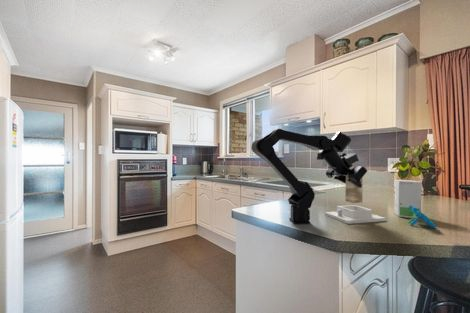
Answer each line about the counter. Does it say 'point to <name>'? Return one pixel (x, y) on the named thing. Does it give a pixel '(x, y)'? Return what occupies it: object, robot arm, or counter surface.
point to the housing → (354, 214)
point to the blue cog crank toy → (419, 217)
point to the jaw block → (353, 192)
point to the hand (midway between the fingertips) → (356, 186)
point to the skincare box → (407, 197)
